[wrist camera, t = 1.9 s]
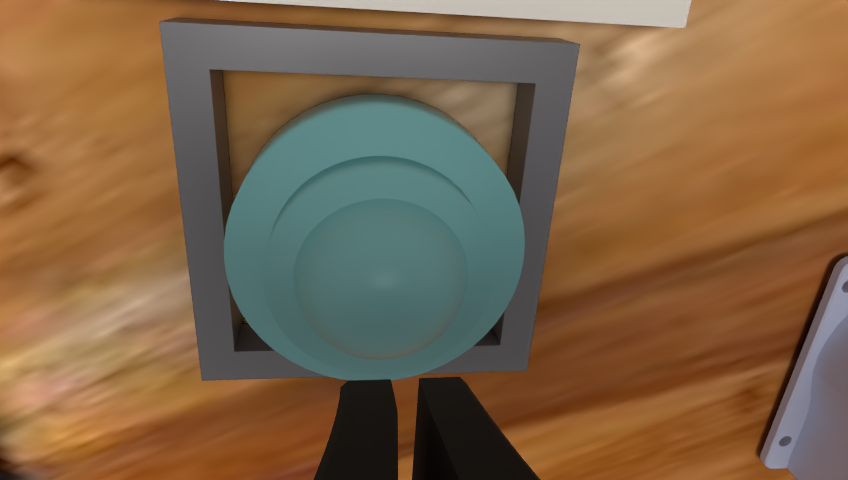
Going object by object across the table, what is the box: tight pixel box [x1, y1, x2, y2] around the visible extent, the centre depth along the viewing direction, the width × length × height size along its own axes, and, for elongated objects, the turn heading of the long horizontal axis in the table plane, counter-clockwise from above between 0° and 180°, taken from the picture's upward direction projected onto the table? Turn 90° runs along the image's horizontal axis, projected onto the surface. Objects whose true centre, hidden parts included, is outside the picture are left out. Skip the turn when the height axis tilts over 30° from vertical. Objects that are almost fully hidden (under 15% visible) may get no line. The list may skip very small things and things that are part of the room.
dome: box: [224, 94, 525, 380], centre depth 14 cm, size 7×7×5 cm
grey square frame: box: [159, 18, 580, 381], centre depth 16 cm, size 10×10×2 cm
